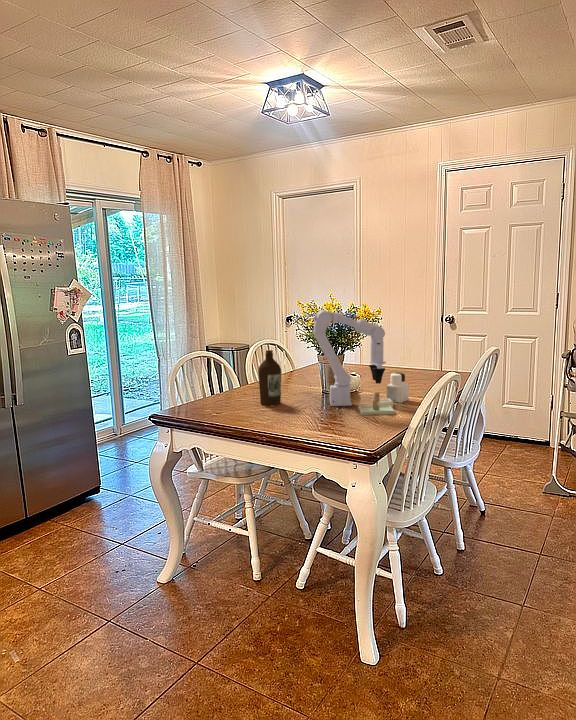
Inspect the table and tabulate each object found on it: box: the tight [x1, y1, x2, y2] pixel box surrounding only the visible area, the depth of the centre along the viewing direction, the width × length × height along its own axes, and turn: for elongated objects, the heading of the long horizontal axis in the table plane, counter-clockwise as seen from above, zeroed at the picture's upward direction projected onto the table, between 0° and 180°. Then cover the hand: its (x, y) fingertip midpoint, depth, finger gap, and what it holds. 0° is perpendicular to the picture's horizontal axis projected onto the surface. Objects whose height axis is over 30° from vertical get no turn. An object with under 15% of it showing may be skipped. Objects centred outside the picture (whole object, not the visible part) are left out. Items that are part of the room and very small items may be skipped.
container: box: [385, 372, 410, 404], centre depth 250 cm, size 8×8×13 cm
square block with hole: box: [379, 398, 394, 409], centre depth 240 cm, size 7×7×3 cm
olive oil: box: [257, 349, 282, 406], centre depth 248 cm, size 11×11×25 cm
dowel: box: [372, 391, 380, 411], centre depth 231 cm, size 3×3×8 cm
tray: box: [357, 405, 396, 416], centre depth 232 cm, size 14×10×1 cm
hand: (376, 381), depth 246 cm, fingers open, 7 cm apart
